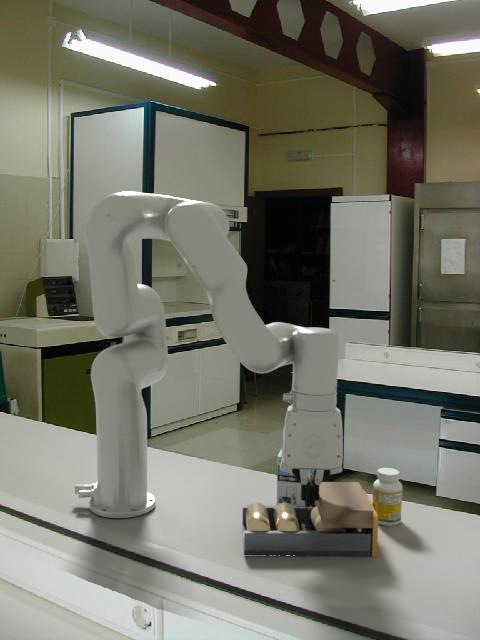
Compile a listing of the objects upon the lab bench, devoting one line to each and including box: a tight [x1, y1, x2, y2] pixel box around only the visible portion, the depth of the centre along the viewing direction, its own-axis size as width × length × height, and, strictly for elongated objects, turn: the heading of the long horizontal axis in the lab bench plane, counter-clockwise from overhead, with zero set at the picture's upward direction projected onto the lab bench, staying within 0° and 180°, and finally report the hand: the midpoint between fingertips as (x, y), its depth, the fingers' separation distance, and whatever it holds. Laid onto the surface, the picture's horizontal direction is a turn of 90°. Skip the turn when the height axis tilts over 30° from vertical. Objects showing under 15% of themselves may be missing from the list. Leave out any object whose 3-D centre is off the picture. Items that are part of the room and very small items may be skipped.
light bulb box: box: [276, 448, 314, 506], centre depth 144 cm, size 11×7×11 cm, turn 168°
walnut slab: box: [315, 481, 373, 528], centre depth 126 cm, size 8×13×3 cm, turn 1°
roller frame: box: [241, 489, 379, 558], centre depth 126 cm, size 22×12×7 cm, turn 91°
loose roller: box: [311, 505, 342, 531], centre depth 126 cm, size 4×8×4 cm, turn 6°
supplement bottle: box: [372, 467, 403, 527], centre depth 135 cm, size 5×5×10 cm
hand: (309, 504), depth 125 cm, fingers closed
